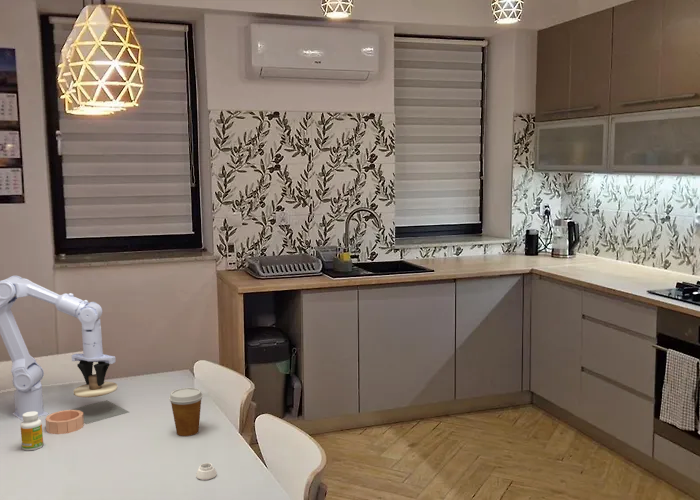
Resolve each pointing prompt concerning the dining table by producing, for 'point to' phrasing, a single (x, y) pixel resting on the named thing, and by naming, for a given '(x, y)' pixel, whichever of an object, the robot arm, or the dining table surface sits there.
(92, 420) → the mat
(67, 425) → the bowl
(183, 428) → the disposable coffee cup
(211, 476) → the white tapered round cap
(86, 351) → the robot arm
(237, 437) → the dining table surface
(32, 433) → the supplement bottle
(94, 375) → the lid
